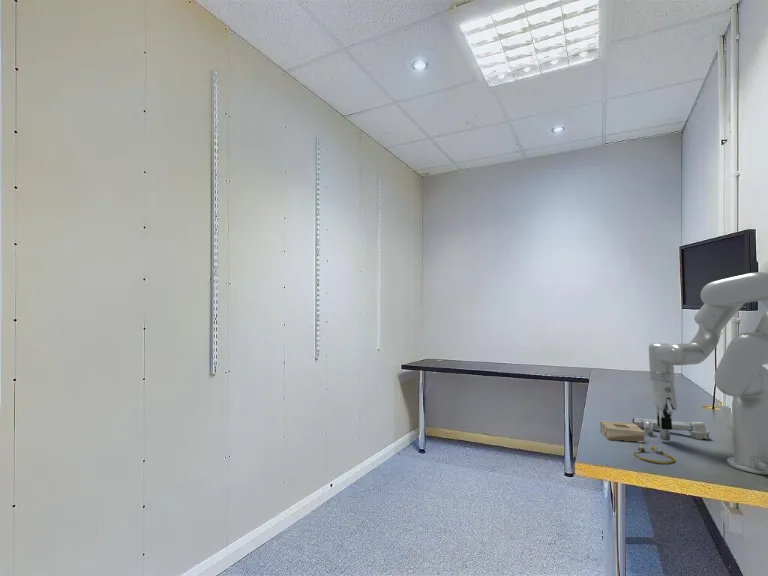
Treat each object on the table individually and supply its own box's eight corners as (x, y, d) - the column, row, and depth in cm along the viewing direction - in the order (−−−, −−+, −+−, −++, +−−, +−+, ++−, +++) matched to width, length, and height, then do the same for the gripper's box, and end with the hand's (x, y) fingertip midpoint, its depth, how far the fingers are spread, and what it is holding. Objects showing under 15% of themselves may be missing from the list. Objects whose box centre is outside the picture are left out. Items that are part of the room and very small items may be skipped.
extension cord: (680, 456, 140) (680, 450, 140) (670, 468, 129) (670, 461, 129) (639, 448, 149) (639, 442, 149) (626, 458, 138) (626, 452, 138)
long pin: (671, 440, 152) (669, 406, 153) (662, 440, 153) (660, 406, 154) (668, 438, 155) (666, 405, 156) (659, 438, 156) (657, 404, 157)
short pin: (654, 436, 162) (653, 423, 162) (645, 435, 163) (645, 422, 163) (651, 434, 165) (651, 421, 165) (642, 433, 166) (642, 420, 166)
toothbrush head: (634, 416, 178) (707, 419, 161) (637, 433, 177) (711, 437, 160) (631, 418, 174) (705, 421, 157) (634, 435, 173) (709, 440, 156)
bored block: (644, 442, 154) (644, 431, 154) (608, 439, 157) (608, 428, 157) (634, 433, 165) (633, 423, 166) (600, 431, 168) (600, 421, 169)
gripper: (683, 380, 147) (686, 434, 146) (665, 374, 163) (667, 423, 161) (658, 379, 149) (661, 432, 148) (643, 374, 165) (645, 422, 163)
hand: (664, 427), depth 154 cm, fingers closed on long pin, 3 cm apart
